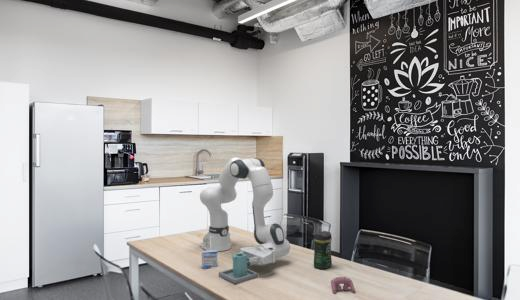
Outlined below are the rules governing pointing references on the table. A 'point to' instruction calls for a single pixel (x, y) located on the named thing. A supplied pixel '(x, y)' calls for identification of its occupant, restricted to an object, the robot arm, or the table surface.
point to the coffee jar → (322, 250)
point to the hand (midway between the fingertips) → (243, 258)
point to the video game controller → (342, 280)
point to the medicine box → (209, 259)
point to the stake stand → (251, 263)
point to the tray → (236, 280)
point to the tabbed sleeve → (239, 265)
